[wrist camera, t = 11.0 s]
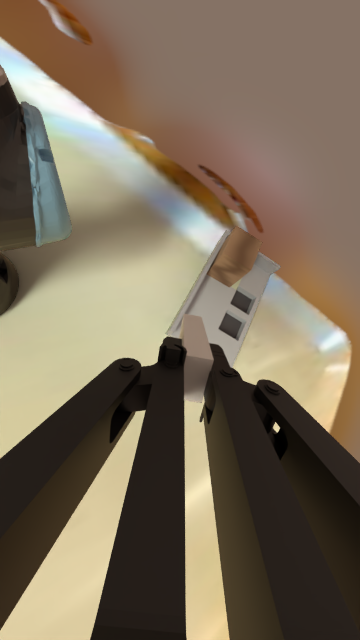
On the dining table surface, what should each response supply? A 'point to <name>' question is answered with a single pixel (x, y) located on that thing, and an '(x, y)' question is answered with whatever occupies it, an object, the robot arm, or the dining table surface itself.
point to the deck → (225, 303)
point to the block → (235, 257)
